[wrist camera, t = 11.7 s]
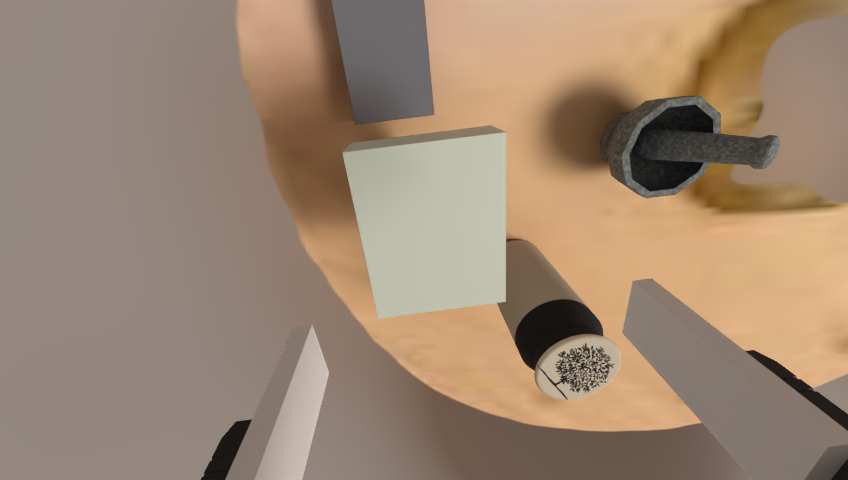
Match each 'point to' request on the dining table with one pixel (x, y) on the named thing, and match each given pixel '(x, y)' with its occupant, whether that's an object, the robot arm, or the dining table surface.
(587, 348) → the travel mug
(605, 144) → the mortar and pestle
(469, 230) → the lid
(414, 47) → the mat
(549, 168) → the dining table surface
